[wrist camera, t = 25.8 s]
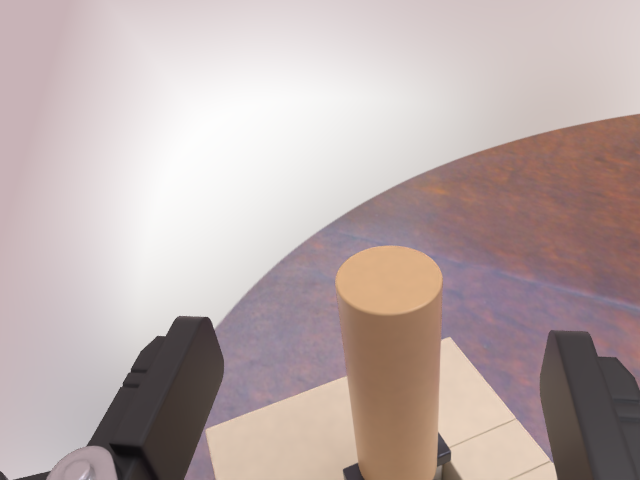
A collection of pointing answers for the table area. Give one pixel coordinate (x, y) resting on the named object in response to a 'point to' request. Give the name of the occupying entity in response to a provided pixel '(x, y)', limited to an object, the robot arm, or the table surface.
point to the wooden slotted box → (339, 439)
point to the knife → (393, 362)
